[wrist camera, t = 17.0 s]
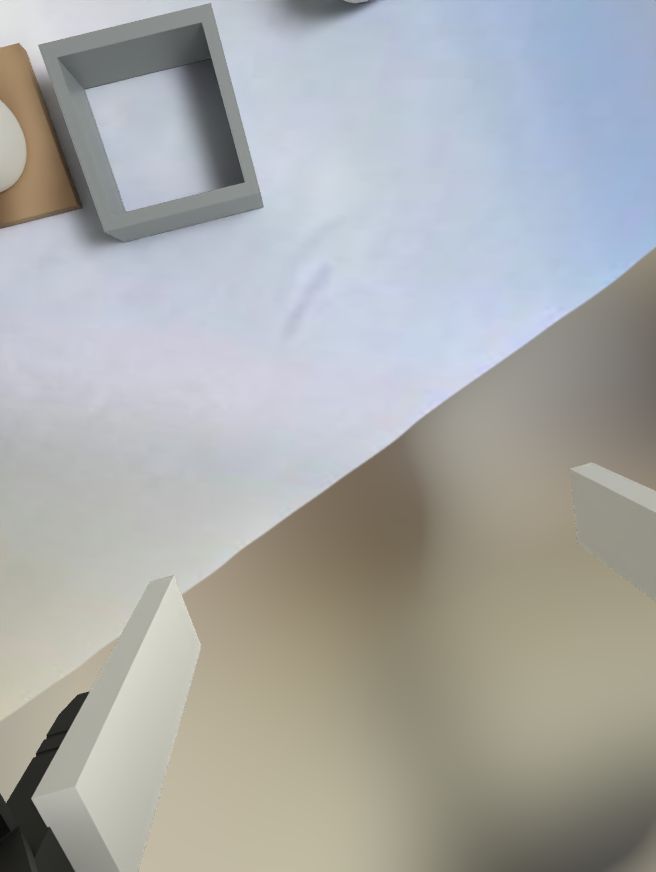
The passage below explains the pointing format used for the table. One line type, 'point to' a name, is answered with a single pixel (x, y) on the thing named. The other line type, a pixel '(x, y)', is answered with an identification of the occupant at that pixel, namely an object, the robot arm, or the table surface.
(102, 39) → the sleeve
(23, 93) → the pad
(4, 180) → the pill bottle
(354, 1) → the donut
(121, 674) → the robot arm
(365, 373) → the table surface
